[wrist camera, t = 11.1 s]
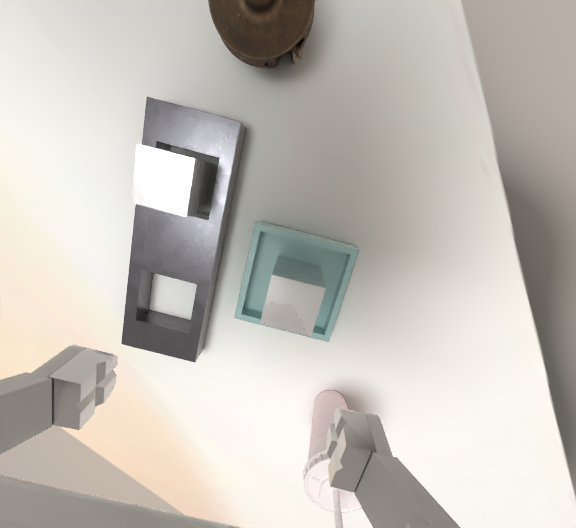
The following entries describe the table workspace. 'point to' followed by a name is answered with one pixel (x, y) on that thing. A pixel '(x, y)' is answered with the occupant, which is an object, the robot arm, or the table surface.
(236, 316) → the tray
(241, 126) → the rack rail
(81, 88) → the table surface
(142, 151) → the white glossy cube
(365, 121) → the table surface
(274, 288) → the pale grey matte cube
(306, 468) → the smoothie
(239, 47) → the industrial component
